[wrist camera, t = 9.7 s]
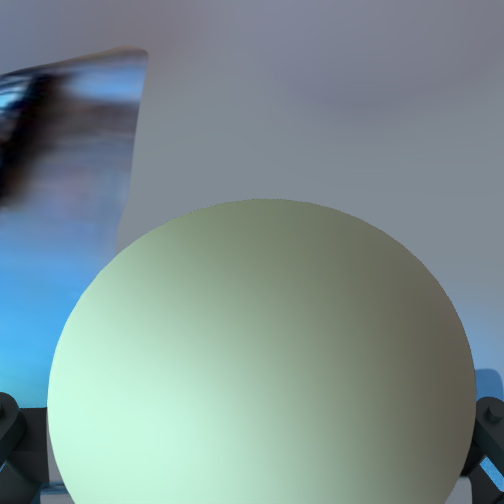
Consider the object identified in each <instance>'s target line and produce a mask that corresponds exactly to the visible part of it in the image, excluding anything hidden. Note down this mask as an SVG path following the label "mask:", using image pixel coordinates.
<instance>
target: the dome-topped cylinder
mask: <svg viewBox="0 0 504 504" xmlns="http://www.w3.org/2000/svg"><path fill="white" fill-rule="evenodd" d="M47 406H48V423H49V433H50V438H51V443H52V447H53V452H54V456H55V460H56V463H57V466H58V468H59V471H60V474H61V476H62V479H63V481H64V484H65V486H66V488H67V490H68V492H69V494H70V495H71V497H72V499H73V501H74V502H75V504H445V502H446V500H447V499H448V497H449V496H450V494H451V492H452V490H453V489H454V487H455V484H456V482H457V480H458V478H459V476H460V473H461V471H462V469H463V467H464V464H465V461H466V457H467V454H468V451H469V448H470V444H471V440H472V435H473V429H474V423H475V415H476V380H475V369H474V365H473V360H472V355H471V350H470V346H469V343H468V340H467V337H466V334H465V331H464V328H463V325H462V323H461V321H460V318H459V317H458V314H457V312H456V310H455V308H454V306H453V304H452V302H451V301H450V299H449V297H448V296H447V295H446V293H445V291H444V290H443V288H442V287H441V286H440V284H439V282H438V281H437V280H436V279H435V278H434V276H433V275H432V274H431V273H430V272H429V270H428V269H427V268H426V267H425V266H424V265H423V264H422V262H421V261H419V260H418V259H417V258H416V257H415V256H414V255H413V254H412V253H411V252H410V251H408V250H407V249H406V248H405V247H404V246H403V245H401V244H400V243H399V242H397V241H396V240H394V239H393V238H391V237H390V236H389V235H387V234H386V233H385V232H383V231H382V230H380V229H378V228H376V227H374V226H372V225H370V224H368V223H367V222H365V221H363V220H361V219H359V218H356V217H354V216H351V215H349V214H346V213H343V212H341V211H338V210H335V209H332V208H328V207H324V206H320V205H316V204H312V203H307V202H298V201H291V200H282V199H252V200H244V201H235V202H228V203H222V204H218V205H214V206H210V207H207V208H203V209H199V210H196V211H193V212H190V213H188V214H185V215H183V216H180V217H178V218H175V219H173V220H171V221H168V222H167V223H165V224H163V225H161V226H159V227H157V228H155V229H154V230H152V231H150V232H148V233H146V234H145V235H143V236H142V237H140V238H139V239H138V240H136V241H135V242H134V243H132V244H131V245H129V246H128V247H127V248H126V249H124V250H123V251H121V252H120V253H119V254H118V255H117V256H116V257H115V258H114V259H113V260H112V261H111V262H110V263H109V264H108V265H107V266H106V267H105V268H104V269H102V270H101V271H100V273H99V274H98V275H97V276H96V278H95V279H94V280H93V281H92V283H91V284H90V285H89V286H88V288H87V289H86V290H85V292H84V293H83V294H82V296H81V297H80V299H79V301H78V302H77V304H76V306H75V307H74V309H73V311H72V313H71V314H70V316H69V318H68V320H67V322H66V324H65V327H64V329H63V332H62V334H61V337H60V339H59V342H58V344H57V347H56V351H55V355H54V359H53V363H52V367H51V372H50V378H49V388H48V401H47Z"/></svg>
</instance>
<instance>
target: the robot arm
mask: <svg viewBox="0 0 504 504" xmlns="http://www.w3.org/2000/svg"><path fill="white" fill-rule="evenodd" d="M486 457H488V458H489V459H490V461H491V462H492V463H493V464H494V466H495V467H496V468H497V469H498V471H499V472H500V473H501V474H502V476H503V477H504V402H502V401H501V400H499V399H497V398H494V397H483V398H481V399H479V400H478V401H477V402H476V415H475V423H474V429H473V435H472V440H471V444H470V448H469V451H468V454H467V457H466V461H465V464H464V467H463V469H462V471H461V473H460V476H459V478H458V480H457V482H456V484H455V487H454V489H453V490H452V492H451V494H450V496H449V497H448V499H447V500H446V502H445V504H504V492H502V491H500V490H499V489H498V488H497V487H496V485H495V484H494V483H493V481H492V480H491V479H490V478H489V476H488V475H487V474H486V472H485V471H484V470H483V469H482V467H481V466H480V465H479V464H480V463H481V462H482V461H483V460H484V459H485V458H486ZM4 462H5V464H6V465H5V466H4V468H3V469H2V470H1V472H0V504H75V502H74V501H73V499H72V497H71V495H70V494H69V492H68V490H67V488H66V486H65V484H64V481H63V479H62V476H61V474H60V471H59V468H58V466H57V463H56V460H55V456H54V452H53V447H52V443H51V438H50V433H49V423H48V407H46V408H19V406H18V405H17V403H16V401H15V399H14V398H13V397H12V396H10V395H9V394H7V393H3V392H0V467H1V466H2V464H3V463H4Z"/></svg>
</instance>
